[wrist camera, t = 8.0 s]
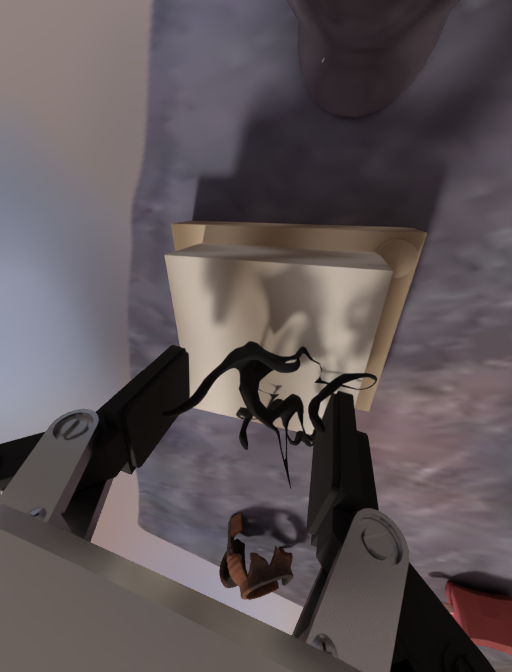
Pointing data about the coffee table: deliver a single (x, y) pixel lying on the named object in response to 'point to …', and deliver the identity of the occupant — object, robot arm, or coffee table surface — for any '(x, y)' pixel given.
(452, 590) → the meat
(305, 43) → the beer glass
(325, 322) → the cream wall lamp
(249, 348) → the creature
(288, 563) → the pottery mug
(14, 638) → the robot arm
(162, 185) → the coffee table surface
